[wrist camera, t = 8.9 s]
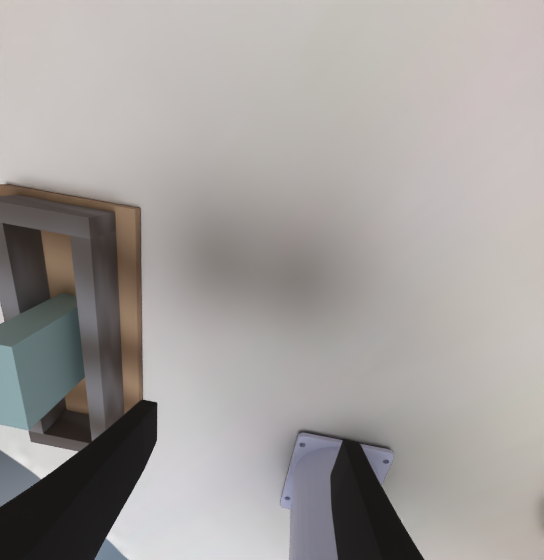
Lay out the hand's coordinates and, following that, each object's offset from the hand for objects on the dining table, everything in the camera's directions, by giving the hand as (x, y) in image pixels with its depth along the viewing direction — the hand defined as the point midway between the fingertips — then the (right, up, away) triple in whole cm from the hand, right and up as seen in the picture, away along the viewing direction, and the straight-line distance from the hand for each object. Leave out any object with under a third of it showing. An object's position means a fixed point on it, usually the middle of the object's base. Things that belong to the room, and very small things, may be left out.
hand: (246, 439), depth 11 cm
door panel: (-14, +2, +10) cm, 17 cm away
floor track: (-14, +2, +11) cm, 18 cm away
